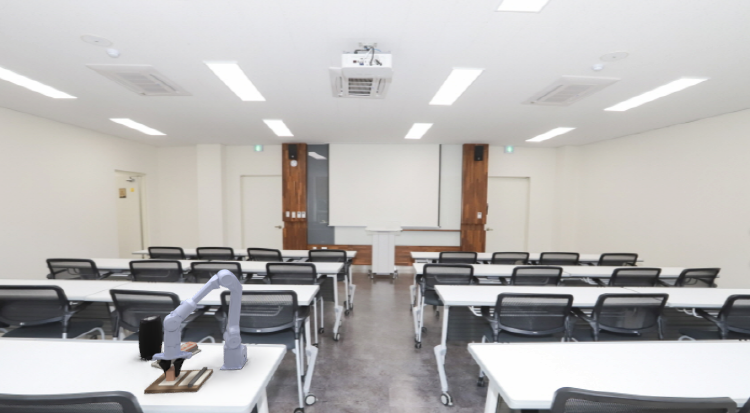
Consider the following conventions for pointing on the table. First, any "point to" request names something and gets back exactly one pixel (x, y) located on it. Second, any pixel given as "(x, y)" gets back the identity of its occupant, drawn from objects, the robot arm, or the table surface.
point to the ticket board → (181, 382)
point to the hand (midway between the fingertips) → (172, 375)
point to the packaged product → (185, 347)
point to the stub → (171, 377)
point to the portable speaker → (150, 336)
